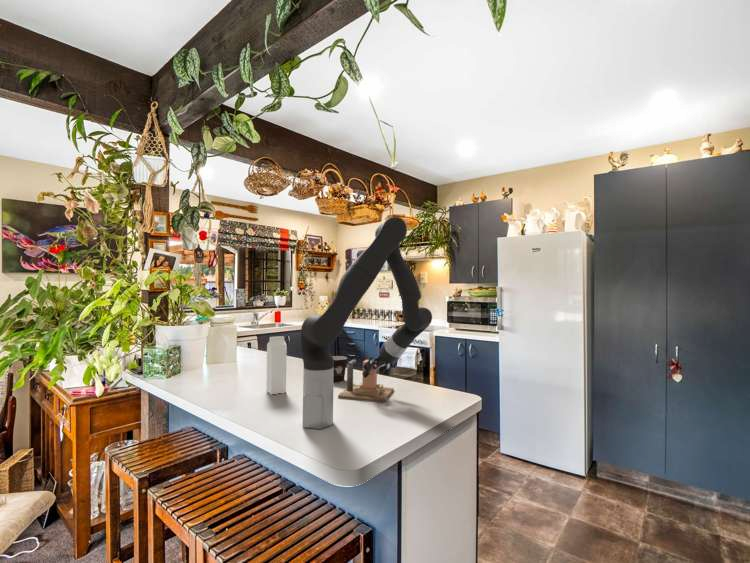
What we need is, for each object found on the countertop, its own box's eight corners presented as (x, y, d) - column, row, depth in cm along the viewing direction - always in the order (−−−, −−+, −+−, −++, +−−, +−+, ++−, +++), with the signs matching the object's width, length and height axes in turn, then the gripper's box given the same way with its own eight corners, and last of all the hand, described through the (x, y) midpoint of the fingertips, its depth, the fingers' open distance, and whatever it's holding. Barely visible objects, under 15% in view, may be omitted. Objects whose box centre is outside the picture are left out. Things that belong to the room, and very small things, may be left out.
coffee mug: (348, 378, 171) (348, 356, 171) (344, 383, 162) (344, 360, 162) (323, 377, 172) (323, 355, 172) (318, 382, 163) (318, 359, 163)
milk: (266, 391, 148) (266, 336, 149) (280, 389, 152) (281, 335, 152) (271, 395, 143) (271, 337, 144) (286, 392, 147) (286, 336, 147)
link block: (373, 393, 143) (373, 362, 143) (362, 392, 144) (362, 361, 145) (376, 390, 148) (377, 360, 148) (365, 389, 149) (366, 359, 149)
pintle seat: (384, 402, 136) (384, 369, 137) (338, 397, 141) (338, 366, 141) (393, 390, 152) (393, 360, 152) (351, 386, 156) (351, 358, 157)
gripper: (401, 338, 144) (380, 363, 152) (374, 342, 134) (353, 368, 142) (411, 354, 140) (389, 379, 148) (385, 359, 130) (362, 385, 138)
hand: (372, 374), depth 145 cm, fingers open, 8 cm apart
